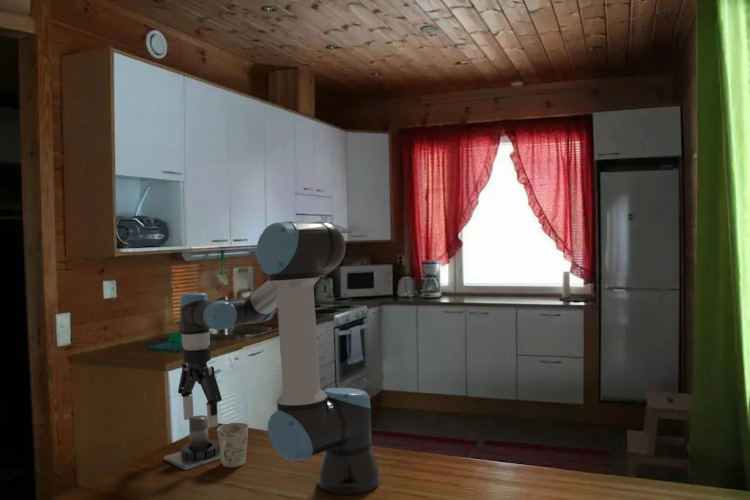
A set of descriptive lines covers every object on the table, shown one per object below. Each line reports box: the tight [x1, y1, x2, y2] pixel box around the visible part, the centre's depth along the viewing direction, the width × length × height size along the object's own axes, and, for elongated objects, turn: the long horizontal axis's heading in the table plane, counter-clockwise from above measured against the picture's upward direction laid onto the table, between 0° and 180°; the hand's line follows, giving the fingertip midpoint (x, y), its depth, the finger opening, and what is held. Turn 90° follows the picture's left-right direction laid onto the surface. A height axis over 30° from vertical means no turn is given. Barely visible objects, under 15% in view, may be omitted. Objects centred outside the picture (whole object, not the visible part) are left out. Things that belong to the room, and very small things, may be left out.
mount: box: [163, 439, 221, 471], centre depth 173 cm, size 12×16×3 cm
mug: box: [216, 422, 249, 468], centre depth 165 cm, size 8×13×10 cm, turn 174°
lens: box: [188, 415, 210, 450], centre depth 173 cm, size 5×5×10 cm
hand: (200, 422), depth 173 cm, fingers open, 13 cm apart
